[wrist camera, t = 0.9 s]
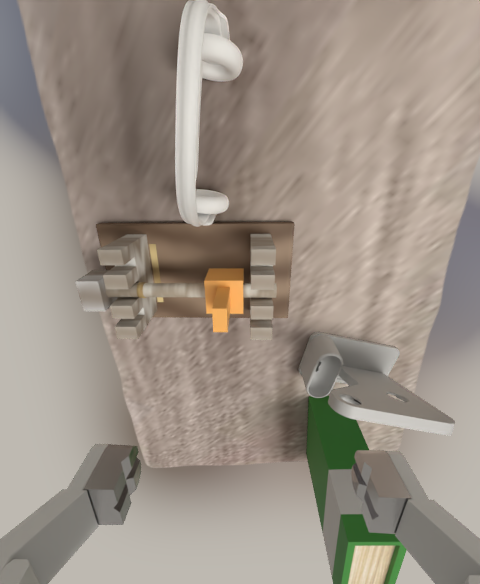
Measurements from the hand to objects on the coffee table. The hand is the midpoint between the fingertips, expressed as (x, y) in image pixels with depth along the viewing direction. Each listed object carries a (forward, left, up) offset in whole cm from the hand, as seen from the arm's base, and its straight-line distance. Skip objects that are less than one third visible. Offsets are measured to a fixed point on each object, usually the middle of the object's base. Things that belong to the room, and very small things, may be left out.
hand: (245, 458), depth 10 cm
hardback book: (+41, +17, -36) cm, 57 cm away
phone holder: (+23, +19, -36) cm, 47 cm away
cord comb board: (+5, -8, -36) cm, 37 cm away
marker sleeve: (+5, -3, -30) cm, 31 cm away
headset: (-14, -5, -36) cm, 39 cm away
